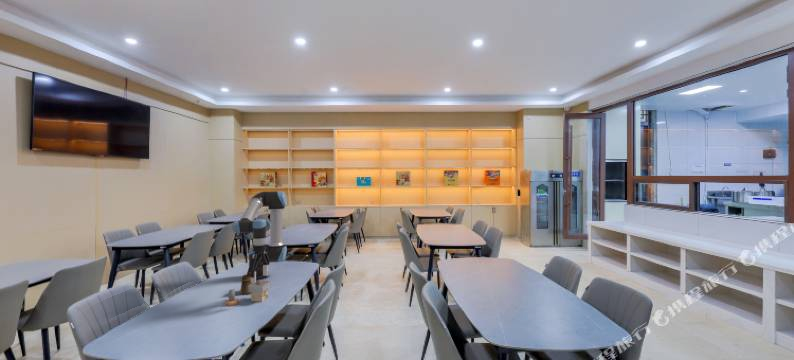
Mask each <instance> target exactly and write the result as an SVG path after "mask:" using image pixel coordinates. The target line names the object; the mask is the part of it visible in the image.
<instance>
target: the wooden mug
mask: <svg viewBox="0 0 794 360" xmlns="http://www.w3.org/2000/svg"><path fill="white" fill-rule="evenodd" d="M257 267H258V264H257ZM257 267H256V269H257ZM256 269H255V270H256ZM240 281H241V284H240V285H241V286H240V291H239V294H240V295H242V296H245V295H246V296H248V295H251V292H249V285H250V284H252V283H251V272H250V273H249V274H247V273H246V274H243V275H242V277H241V280H240Z"/></svg>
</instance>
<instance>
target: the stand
mask: <svg viewBox="0 0 794 360" xmlns="http://www.w3.org/2000/svg"><path fill="white" fill-rule="evenodd" d="M256 281H257V280H256ZM262 281H263V280H258V281H257V284H259V285H261V284H262ZM268 298H269V289H267V290H266V291H264V292H263V293H259V292H251V294H250V302H256V303H257V302H260V303H262V302H264V301H266V299H268Z"/></svg>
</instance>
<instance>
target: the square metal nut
mask: <svg viewBox="0 0 794 360" xmlns="http://www.w3.org/2000/svg"><path fill="white" fill-rule="evenodd" d="M257 281H259V279H257V280H256V283H252V284H250V285H249V292H259V293H263V292H264V291H266V290H267V289H268V290H269V289H270V288H271V281H270V280H261V281H262V284H261V285H259V284H257Z"/></svg>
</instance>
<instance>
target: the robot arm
mask: <svg viewBox="0 0 794 360" xmlns="http://www.w3.org/2000/svg"><path fill="white" fill-rule="evenodd" d="M287 205H288V200H287V195H286V193H285V192H284V191H282V190H281V191H280V190H275V191H270V190H269V191H260V192H258V193H256V194H254V195H253V196H252V197H251V198H250V199H249V201H248V205H247V207H246V209H245V210H244V213H243V214H242V216H241V217H240V219H239V220H237V221H236V220H235V221H233V222H232V226H231V228H232V232H233V233H234V234H247V233H248V234H249V233H252V247H250V248H249V250H248V270H247V273H246V275H247V274H249V273H250V272H251V283H256V281H257V280H263V279H265V278H267V277H268V276H269V270H268V269H269V268H268V267H269V265H270V263H282V262H284V261H285V260H286V257H287V251H288V248H287V246H286V245H285V243H284V242H283V211H284V210H285V207H287ZM264 207H265V208H266V207H268V208H267V209H268V211H269V212H270V221H269V220H267V219H264V218H262V219H261V218H260V219H259V218H258V219H255V218H256V215H257V214H258V212H259V210H260V209H262V208H264ZM269 231H270V232H269ZM267 232H269V233H270V238H269V239H270V241H269V242H270V243H269V244H268V246H267ZM257 264H258V267H257ZM256 267H257V269H256ZM255 269H256V270H255Z"/></svg>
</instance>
